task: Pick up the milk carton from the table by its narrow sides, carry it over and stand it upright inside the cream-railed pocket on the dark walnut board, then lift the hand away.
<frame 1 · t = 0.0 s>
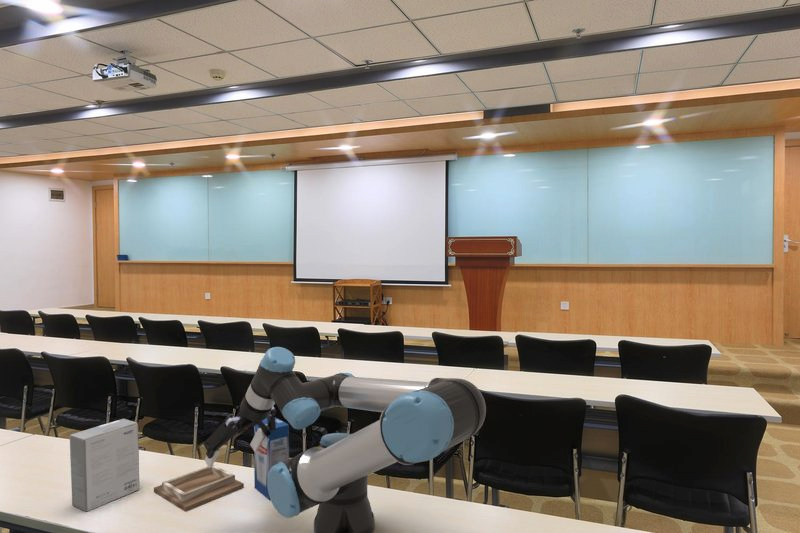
hand: (231, 455, 135), 15 cm above the table, tool tilted 35°, fingers open, 13 cm apart
milk carton: (271, 491, 148), on the table
hard drive box: (106, 498, 144), on the table
walnut board: (199, 489, 148), on the table
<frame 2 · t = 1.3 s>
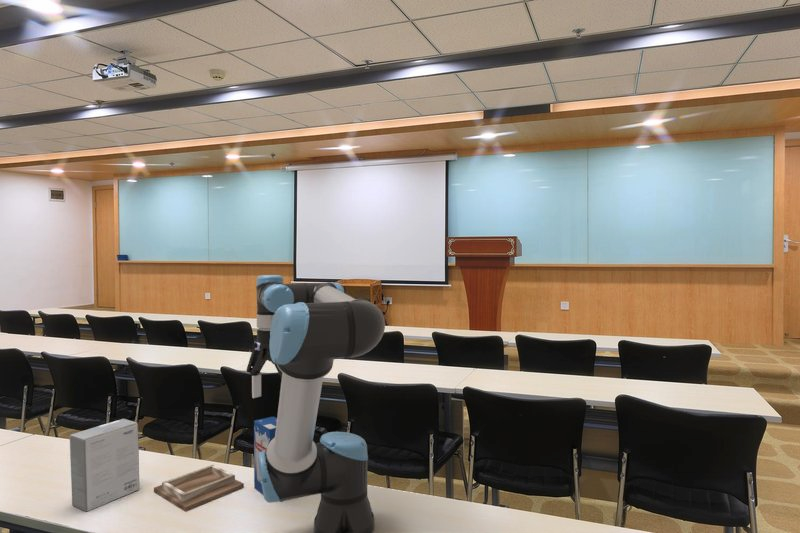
hand: (270, 401, 147), 26 cm above the table, tool pointing down, fingers open, 13 cm apart
nothing on the table moved.
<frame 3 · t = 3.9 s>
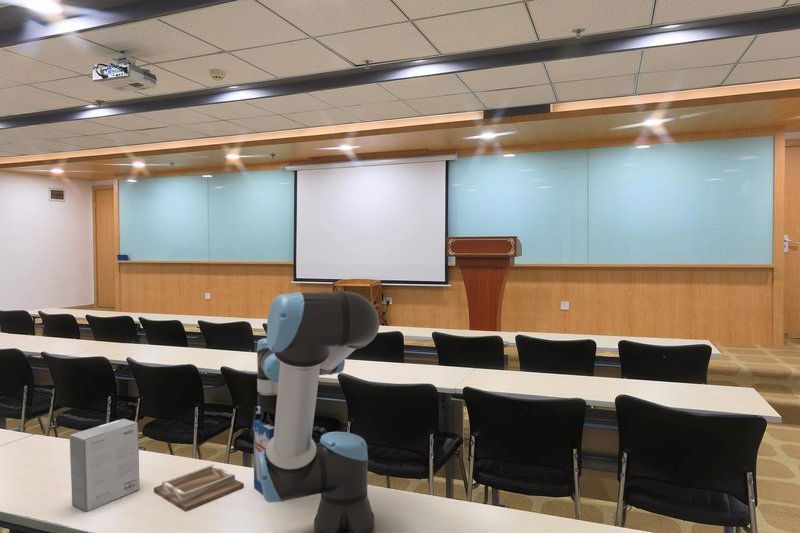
hand: (271, 467, 148), 7 cm above the table, tool pointing down, fingers closed on milk carton, 10 cm apart
milk carton: (271, 491, 148), on the table, touching gripper
everything else where it was.
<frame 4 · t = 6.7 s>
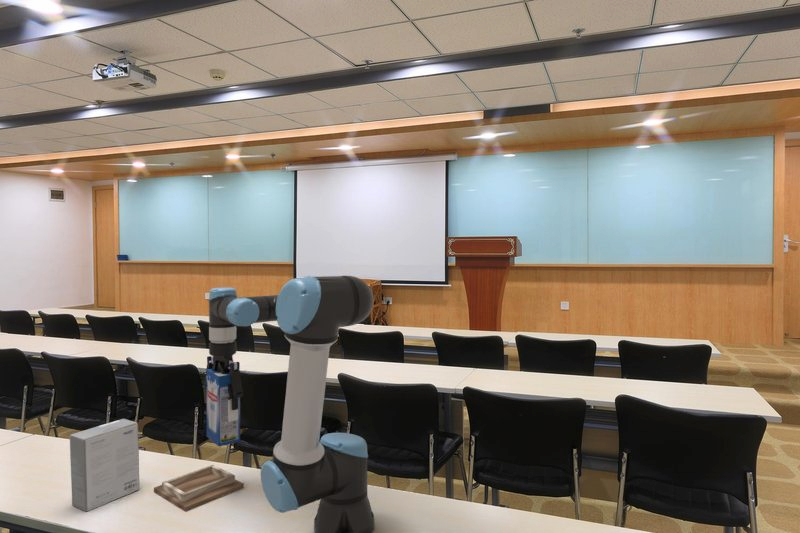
hand: (223, 416, 148), 22 cm above the table, tool pointing down, fingers closed on milk carton, 10 cm apart
milk carton: (223, 439, 149), point 15 cm above the table, touching gripper
everything else where it was.
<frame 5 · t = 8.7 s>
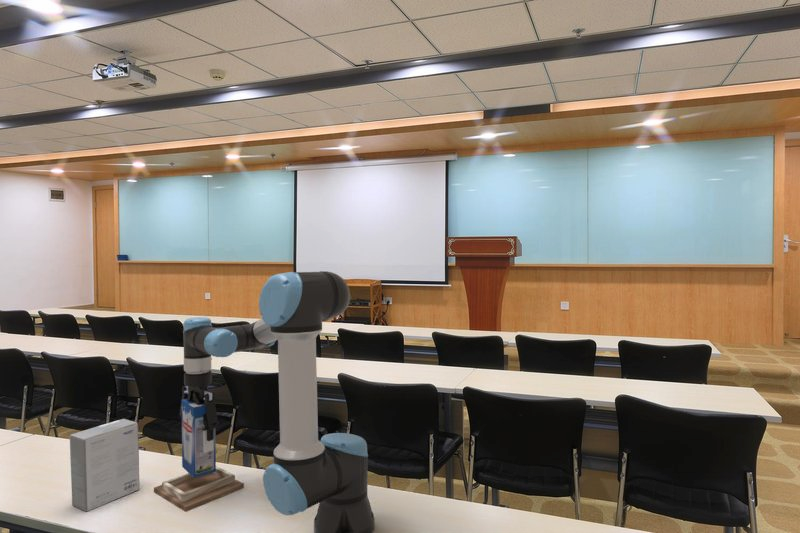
hand: (198, 446, 148), 13 cm above the table, tool pointing down, fingers closed on milk carton, 10 cm apart
milk carton: (198, 469, 148), point 6 cm above the table, touching gripper
everything else where it was.
when the fingers open (9 cm above the table, at t = 9.9 s): milk carton stays where it is, resting on walnut board.
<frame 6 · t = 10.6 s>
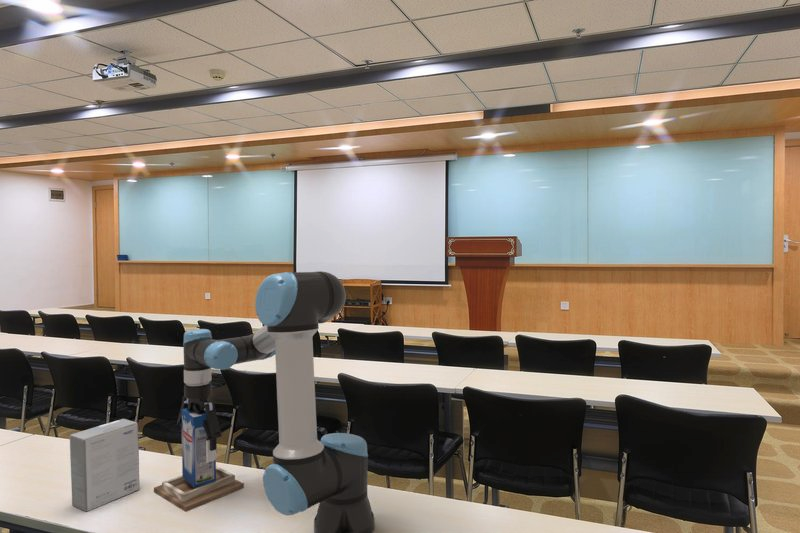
hand: (198, 455, 148), 10 cm above the table, tool pointing down, fingers open, 13 cm apart
milk carton: (199, 479, 148), point 3 cm above the table, touching walnut board
everything else where it was.
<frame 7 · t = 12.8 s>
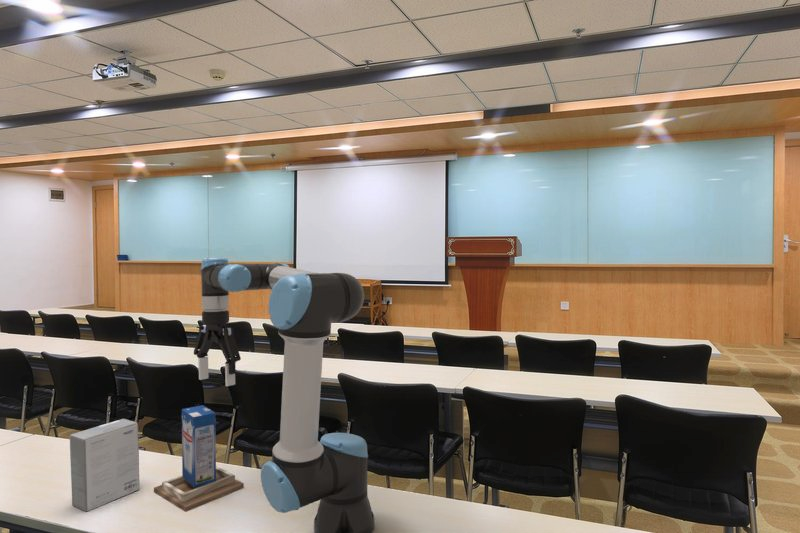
hand: (216, 382, 149), 31 cm above the table, tool pointing down, fingers open, 13 cm apart
nothing on the table moved.
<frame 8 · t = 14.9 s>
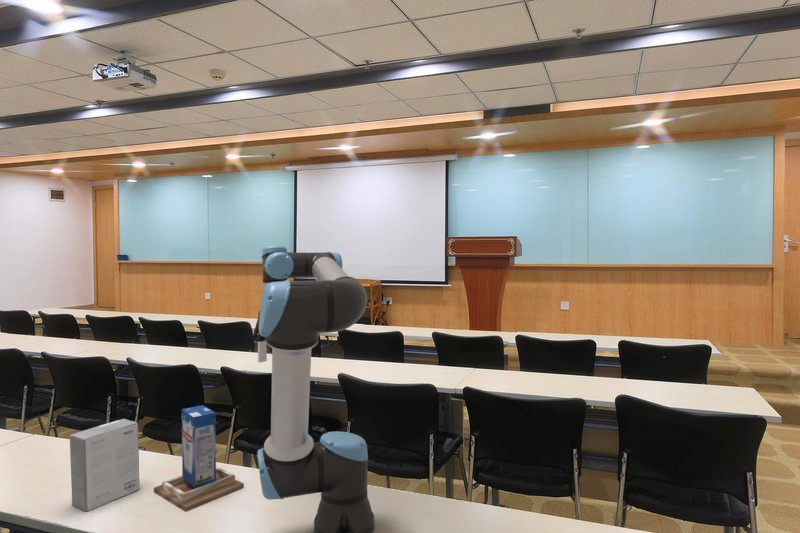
hand: (275, 364, 157), 35 cm above the table, tool pointing down, fingers open, 13 cm apart
nothing on the table moved.
at the end: milk carton 0.1 cm off-centre on the walnut board, point 3.0 cm above the walnut board's base; milk carton tilted 0°; the gripper is holding nothing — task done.
